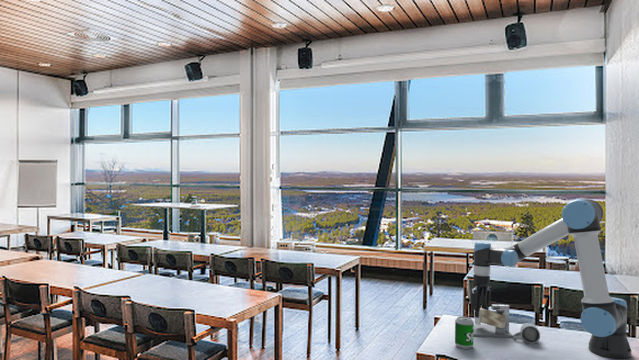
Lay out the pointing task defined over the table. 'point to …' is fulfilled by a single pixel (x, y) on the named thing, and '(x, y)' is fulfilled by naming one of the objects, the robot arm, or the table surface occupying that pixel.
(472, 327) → the soda can
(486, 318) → the lever link
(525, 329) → the ceramic mug
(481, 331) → the board
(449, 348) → the table surface
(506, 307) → the block
